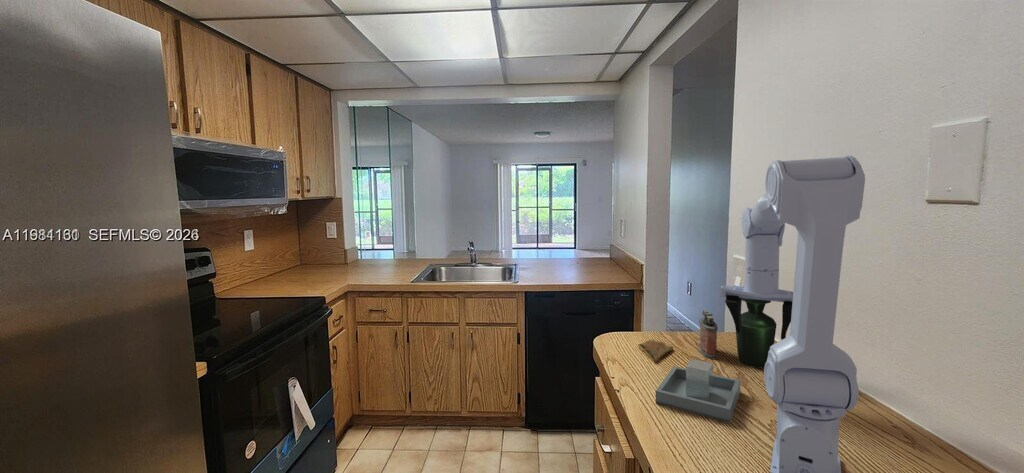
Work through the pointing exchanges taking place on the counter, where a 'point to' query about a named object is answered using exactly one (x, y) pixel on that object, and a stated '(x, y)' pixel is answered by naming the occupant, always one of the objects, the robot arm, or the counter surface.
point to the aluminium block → (699, 380)
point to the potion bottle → (755, 334)
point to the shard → (655, 349)
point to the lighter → (708, 335)
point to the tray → (716, 408)
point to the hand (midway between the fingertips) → (760, 334)
